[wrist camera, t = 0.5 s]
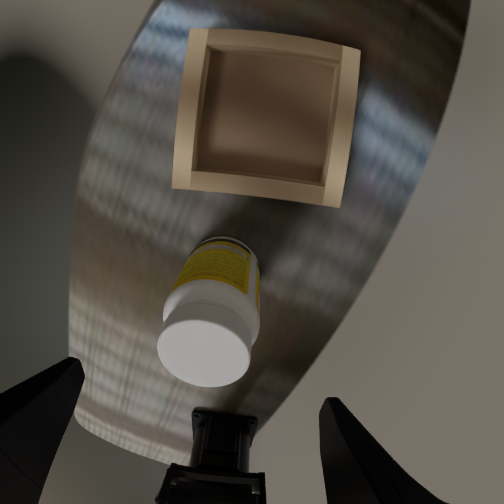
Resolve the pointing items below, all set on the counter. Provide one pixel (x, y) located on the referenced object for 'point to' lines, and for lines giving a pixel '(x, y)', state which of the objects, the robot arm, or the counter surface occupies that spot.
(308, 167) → the jig cradle
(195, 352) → the supplement bottle
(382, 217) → the counter surface
